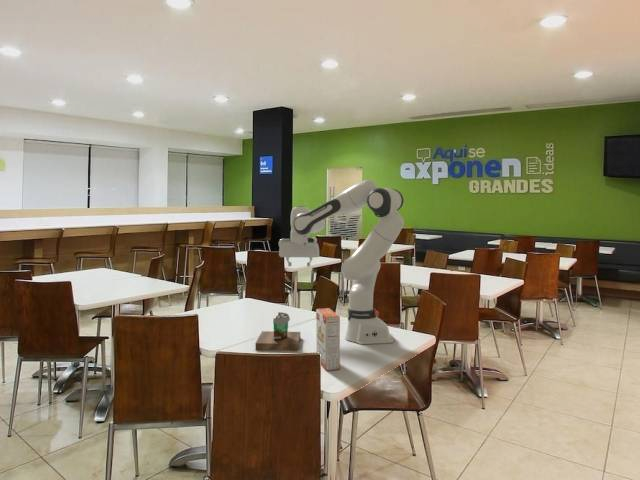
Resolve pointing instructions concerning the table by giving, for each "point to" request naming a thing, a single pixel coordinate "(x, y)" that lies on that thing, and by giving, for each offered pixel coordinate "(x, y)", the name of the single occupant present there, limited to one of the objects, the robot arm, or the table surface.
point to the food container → (281, 326)
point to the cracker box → (328, 338)
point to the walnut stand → (277, 341)
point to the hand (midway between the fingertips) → (299, 266)
